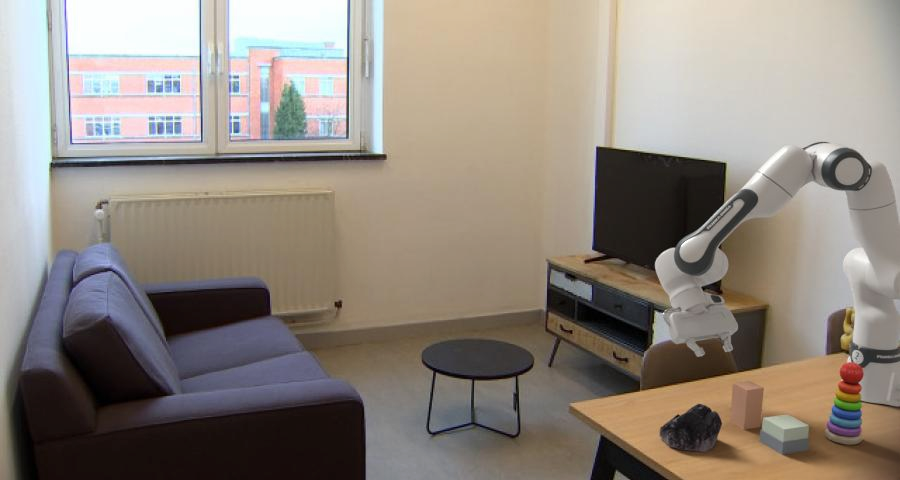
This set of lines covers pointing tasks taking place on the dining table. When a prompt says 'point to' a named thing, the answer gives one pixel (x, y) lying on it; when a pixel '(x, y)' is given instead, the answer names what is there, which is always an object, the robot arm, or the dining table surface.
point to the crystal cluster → (692, 429)
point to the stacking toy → (847, 407)
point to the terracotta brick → (746, 405)
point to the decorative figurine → (848, 329)
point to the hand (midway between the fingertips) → (715, 353)
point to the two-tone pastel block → (784, 434)
